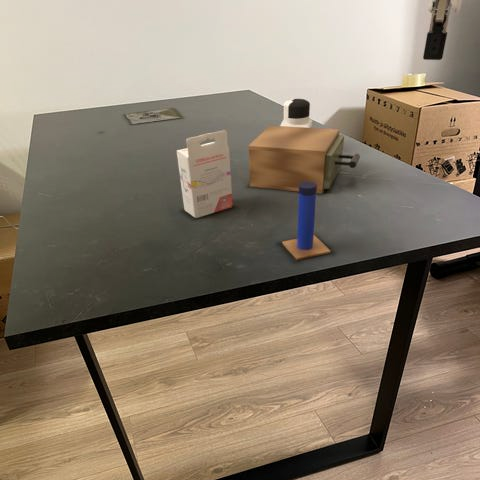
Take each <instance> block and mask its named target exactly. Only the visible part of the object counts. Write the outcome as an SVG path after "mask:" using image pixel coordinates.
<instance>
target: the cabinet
mask: <svg viewBox="0 0 480 480" xmlns="http://www.w3.org/2000/svg"><path fill="white" fill-rule="evenodd" d="M338 135H340V129H336V128H321V127H320V128H318V127H312V128H304V127H287V126H280V125H269V126H267V128H266V129H265V130H264V131H263V132H262V133H260V134H259V135H258V136H257V137H256V138H255V139H254V140H253V141H252V142H251V143H250V144H248V165H249V166H248V167H249V168H248V170H249V187H250V188H261V189H268V190H269V189H270V190H279V191H288V192H289V191H291V192H299V184H300V183H302V182H313V183H316V184H317V192H316V194H320V195H322V194H324V192H325V190H326V189H323V185H324V171H325V157H326V153H327V151H328V150H329V148H330V147H331V146H332V144H333V143H334V141H335V140H336V138H337V137H338Z"/></svg>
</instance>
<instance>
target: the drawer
mask: <svg viewBox="0 0 480 480" xmlns="http://www.w3.org/2000/svg"><path fill="white" fill-rule="evenodd" d="M344 142H345V135H344V134H339V135H338V137H337V138H336V140H335V141H334V143H333V144H332V146H331V147H330V148H329V150H328V151H327V153H326V157H325V171H324V185H323V189H325V190H330V189H331V187H332V184H333V182H334V181H335V179H336V177H337V175H338V173H339V172H340V170H341V168H342V166H348V167H349V168H351V169H354V168H356V166H357V165H358V162H359V160H360V158H361V155H360V154H359V153H354V154H353V155H352V154H343V153H344V144H345V143H344ZM343 159H346V160H347V159H348V160H350V161H343Z"/></svg>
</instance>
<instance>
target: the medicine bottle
mask: <svg viewBox="0 0 480 480" xmlns="http://www.w3.org/2000/svg"><path fill="white" fill-rule="evenodd" d="M310 109H311V103H310V101H309V100H308V99H305V98H291V99H288V100H286V101H284V103H283V119H282V121H281V123H280V125H279V126H287V127H304V128H313V126H314V125H313V124H314V123H313V122H314V119H313V118H310Z"/></svg>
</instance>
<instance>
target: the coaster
mask: <svg viewBox="0 0 480 480" xmlns="http://www.w3.org/2000/svg"><path fill="white" fill-rule="evenodd" d="M281 244H282V245H283V246H284V247H285V249H286V250H287V251H288V253H290V254H291V256H293V258H294V259H295V260H296V261H300V260H305V259H309V258H314V257H319V256H324V255H327V254H331V251H332V250H330V249H329V248H328V247H327V246H326V245H325V244H324V243H323V242H322V241H321V240H320V238H318V237H317V236H316V235H315V234H314V236H313V247H312V248H311V249H309V250H302V249H299V248H298V247H297V238H293V239H288V240H284V241H283V240H282V242H281Z"/></svg>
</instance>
